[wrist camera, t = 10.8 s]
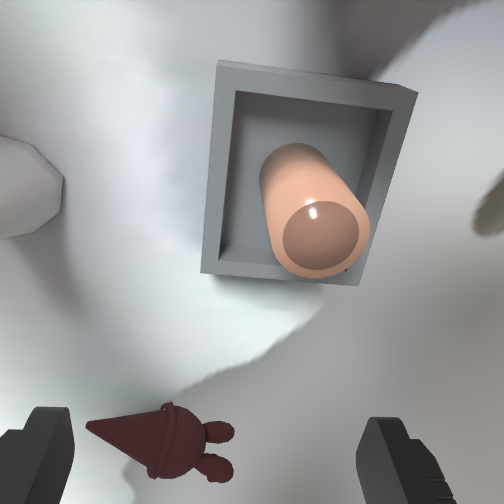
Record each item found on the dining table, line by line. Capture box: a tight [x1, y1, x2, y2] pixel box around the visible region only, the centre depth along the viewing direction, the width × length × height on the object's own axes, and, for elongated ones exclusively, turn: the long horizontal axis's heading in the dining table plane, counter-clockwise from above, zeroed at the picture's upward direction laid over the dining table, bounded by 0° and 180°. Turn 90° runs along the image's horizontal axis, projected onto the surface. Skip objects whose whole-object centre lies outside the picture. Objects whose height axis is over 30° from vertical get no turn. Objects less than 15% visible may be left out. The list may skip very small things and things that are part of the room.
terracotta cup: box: [259, 143, 370, 278], centre depth 25 cm, size 5×5×9 cm
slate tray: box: [200, 60, 418, 286], centre depth 28 cm, size 14×12×4 cm
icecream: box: [86, 402, 235, 483], centre depth 39 cm, size 7×7×15 cm
